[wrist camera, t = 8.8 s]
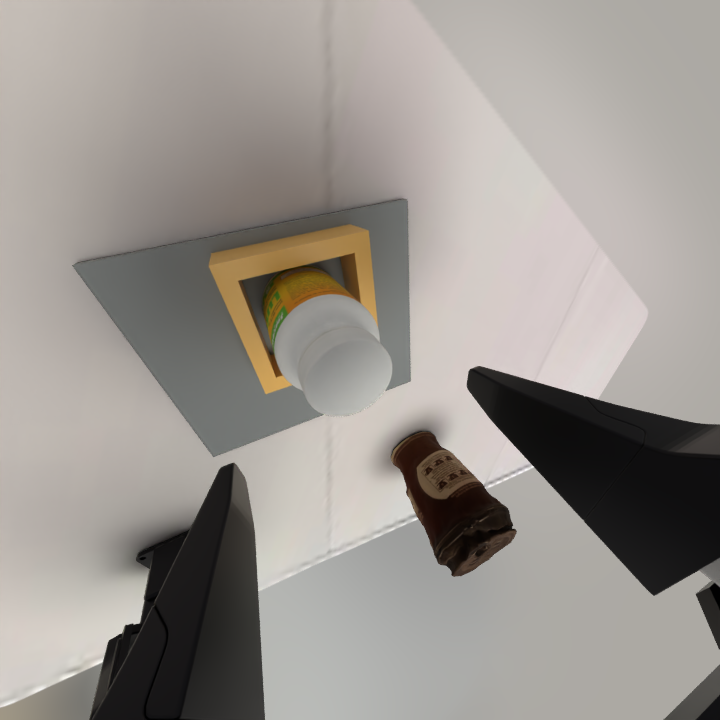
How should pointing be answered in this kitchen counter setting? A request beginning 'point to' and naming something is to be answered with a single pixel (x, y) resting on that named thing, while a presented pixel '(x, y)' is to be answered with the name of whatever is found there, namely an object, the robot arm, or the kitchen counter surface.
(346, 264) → the orange collar
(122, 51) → the kitchen counter surface
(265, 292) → the supplement bottle
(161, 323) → the slate board
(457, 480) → the coffee cup
